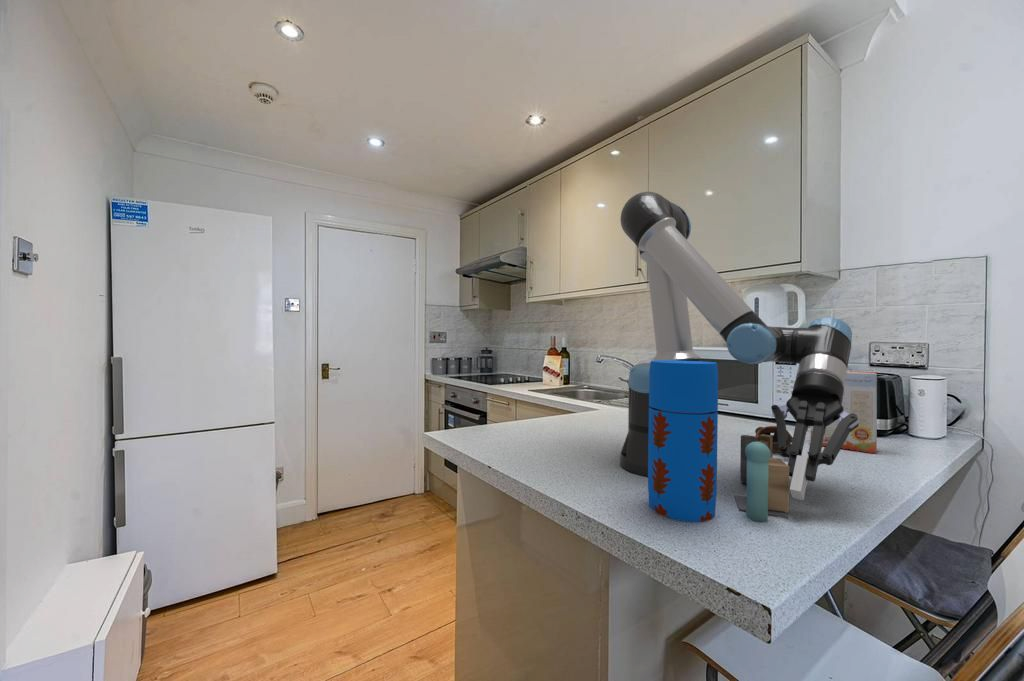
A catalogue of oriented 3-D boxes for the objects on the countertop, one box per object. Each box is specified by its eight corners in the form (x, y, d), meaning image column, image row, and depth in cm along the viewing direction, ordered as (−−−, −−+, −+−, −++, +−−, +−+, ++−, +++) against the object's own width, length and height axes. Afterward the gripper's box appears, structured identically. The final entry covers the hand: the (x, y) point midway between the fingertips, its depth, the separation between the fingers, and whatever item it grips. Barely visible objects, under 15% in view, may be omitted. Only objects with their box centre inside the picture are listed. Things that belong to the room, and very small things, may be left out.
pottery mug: (809, 461, 101) (803, 434, 99) (775, 478, 101) (768, 451, 98) (772, 437, 113) (766, 412, 110) (742, 452, 112) (734, 428, 110)
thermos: (685, 527, 63) (687, 364, 63) (634, 502, 72) (636, 360, 72) (730, 514, 68) (732, 363, 68) (677, 492, 77) (679, 359, 77)
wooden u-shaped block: (733, 477, 85) (733, 434, 85) (760, 480, 83) (761, 436, 83) (754, 508, 69) (755, 454, 69) (788, 512, 68) (789, 457, 68)
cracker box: (876, 450, 110) (877, 372, 110) (876, 454, 106) (877, 373, 106) (812, 441, 120) (813, 369, 120) (809, 444, 115) (810, 370, 115)
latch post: (741, 517, 67) (742, 441, 67) (748, 510, 69) (749, 438, 69) (766, 524, 64) (767, 445, 64) (772, 517, 67) (773, 442, 67)
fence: (747, 480, 85) (747, 441, 85) (761, 469, 92) (762, 434, 92) (758, 482, 84) (758, 443, 83) (772, 471, 90) (772, 435, 90)
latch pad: (734, 496, 76) (734, 494, 76) (778, 502, 73) (778, 500, 73) (739, 510, 69) (739, 508, 69) (788, 518, 67) (788, 516, 67)
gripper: (865, 400, 75) (850, 519, 63) (782, 393, 84) (756, 495, 73) (862, 373, 71) (845, 493, 60) (775, 368, 81) (746, 472, 69)
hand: (796, 494), depth 66 cm, fingers closed
